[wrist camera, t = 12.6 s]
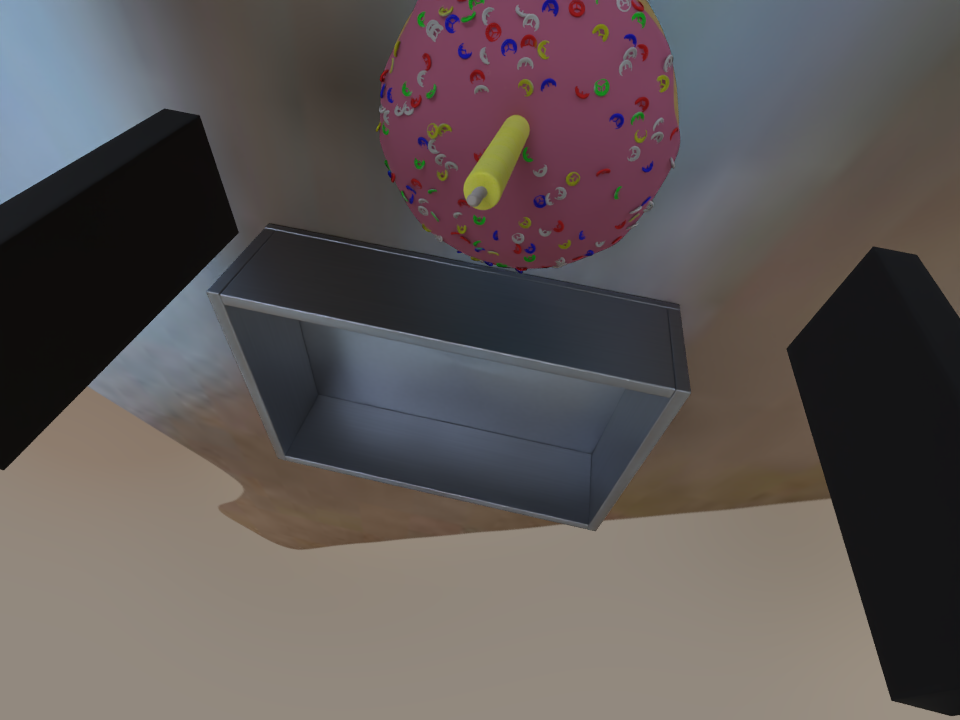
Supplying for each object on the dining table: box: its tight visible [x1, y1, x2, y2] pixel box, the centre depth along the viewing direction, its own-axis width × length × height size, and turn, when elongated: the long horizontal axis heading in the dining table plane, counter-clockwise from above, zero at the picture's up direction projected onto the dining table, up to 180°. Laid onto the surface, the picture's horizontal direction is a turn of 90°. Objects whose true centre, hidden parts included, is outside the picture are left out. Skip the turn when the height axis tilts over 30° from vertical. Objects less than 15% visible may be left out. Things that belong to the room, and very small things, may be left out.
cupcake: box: [376, 0, 680, 274], centre depth 13 cm, size 9×8×12 cm
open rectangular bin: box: [207, 224, 691, 531], centre depth 26 cm, size 20×14×5 cm
